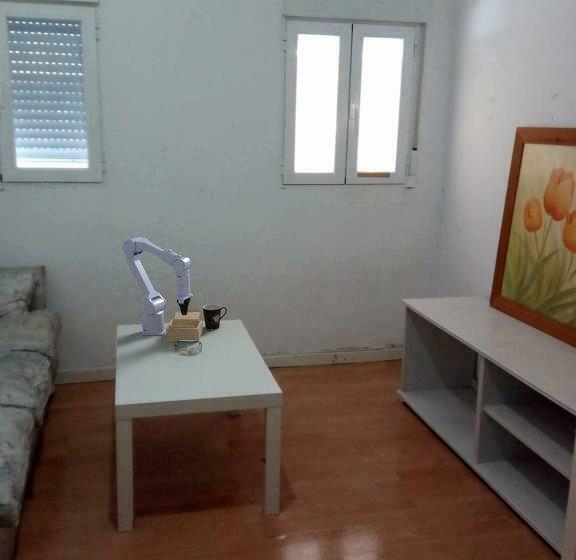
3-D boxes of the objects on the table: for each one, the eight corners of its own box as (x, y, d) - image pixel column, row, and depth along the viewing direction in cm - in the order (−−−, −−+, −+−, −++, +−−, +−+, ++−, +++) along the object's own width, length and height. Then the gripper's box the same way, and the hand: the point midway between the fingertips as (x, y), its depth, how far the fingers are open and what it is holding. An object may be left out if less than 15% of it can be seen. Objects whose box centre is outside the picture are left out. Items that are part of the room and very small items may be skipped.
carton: (166, 341, 276) (166, 328, 274) (171, 332, 287) (171, 319, 286) (198, 342, 276) (198, 328, 274) (202, 332, 287) (202, 320, 286)
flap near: (167, 325, 270) (167, 326, 270) (193, 325, 270) (193, 326, 270) (169, 327, 275) (169, 328, 274) (195, 327, 274) (194, 328, 274)
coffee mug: (204, 331, 290) (203, 310, 287) (202, 325, 298) (201, 304, 295) (229, 329, 292) (229, 308, 290) (226, 323, 301) (226, 303, 298)
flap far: (200, 312, 289) (200, 312, 289) (175, 311, 289) (175, 312, 289) (198, 319, 285) (198, 320, 286) (174, 319, 286) (174, 319, 286)
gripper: (189, 289, 269) (190, 319, 272) (195, 280, 283) (196, 310, 286) (173, 289, 269) (174, 319, 272) (179, 280, 283) (180, 309, 286)
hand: (184, 314), depth 279 cm, fingers closed
